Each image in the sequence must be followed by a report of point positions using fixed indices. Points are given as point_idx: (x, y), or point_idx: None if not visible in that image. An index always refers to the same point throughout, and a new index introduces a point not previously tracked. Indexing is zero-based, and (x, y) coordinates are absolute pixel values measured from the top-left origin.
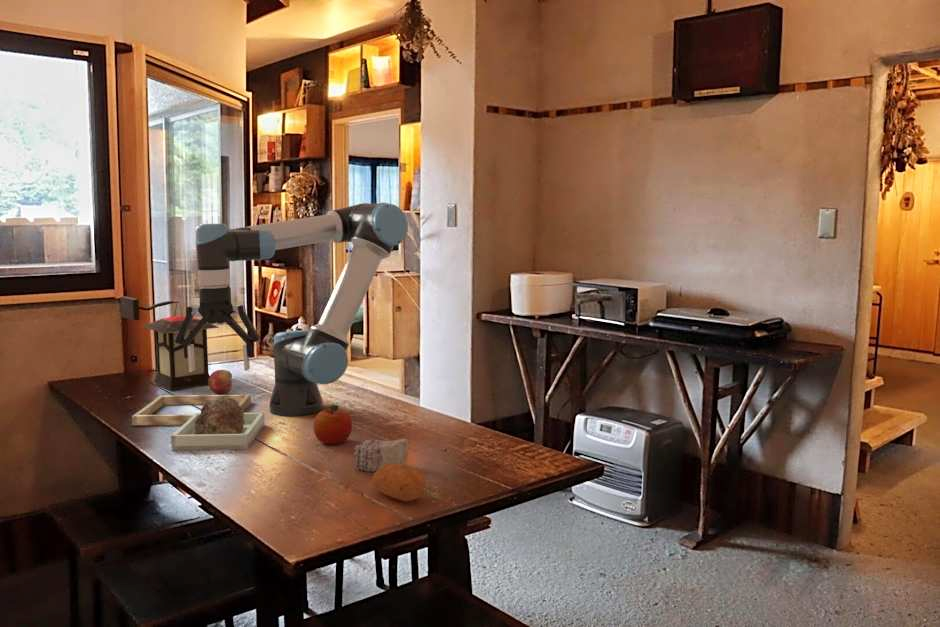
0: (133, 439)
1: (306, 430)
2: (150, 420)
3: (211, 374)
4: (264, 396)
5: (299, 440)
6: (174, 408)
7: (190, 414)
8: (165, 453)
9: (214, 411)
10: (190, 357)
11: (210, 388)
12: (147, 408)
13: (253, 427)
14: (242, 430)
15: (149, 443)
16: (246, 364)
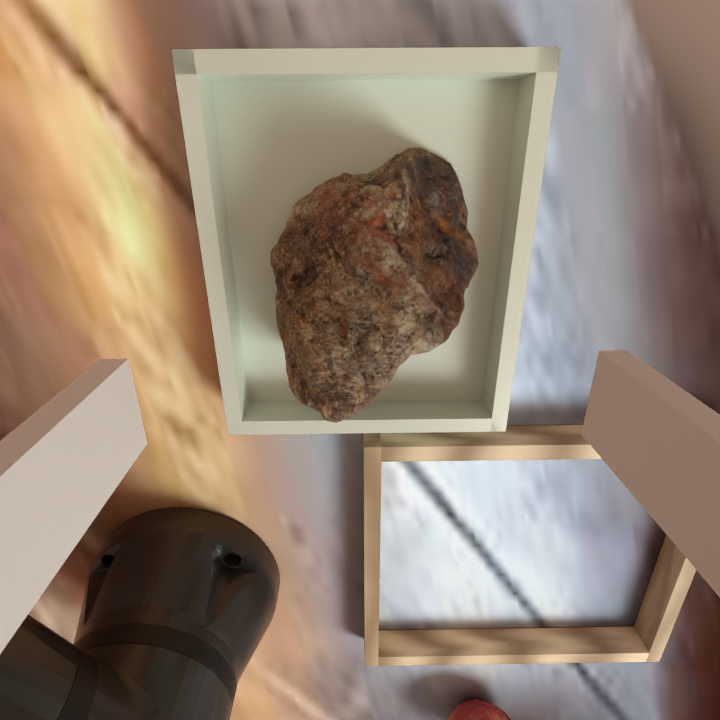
0: (709, 243)
1: (52, 338)
2: None
3: None
4: (339, 691)
5: (17, 196)
6: (595, 593)
7: (527, 458)
8: (554, 6)
9: (381, 233)
10: (698, 418)
11: (508, 717)
12: None
13: (196, 213)
14: None
15: (640, 180)
16: (75, 384)
